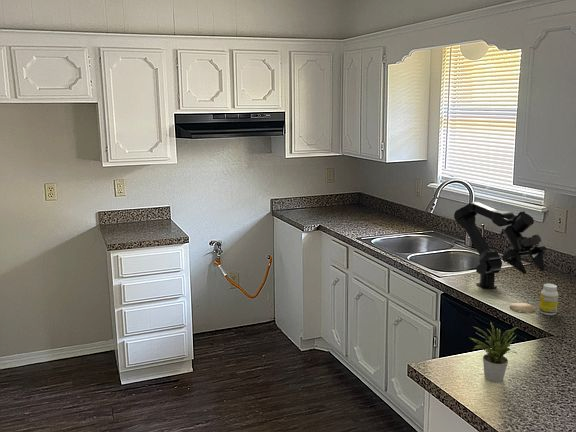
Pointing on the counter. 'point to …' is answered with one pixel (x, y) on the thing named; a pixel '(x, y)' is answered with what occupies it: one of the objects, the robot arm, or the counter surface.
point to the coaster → (522, 307)
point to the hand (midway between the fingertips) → (534, 272)
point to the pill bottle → (548, 300)
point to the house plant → (495, 354)
